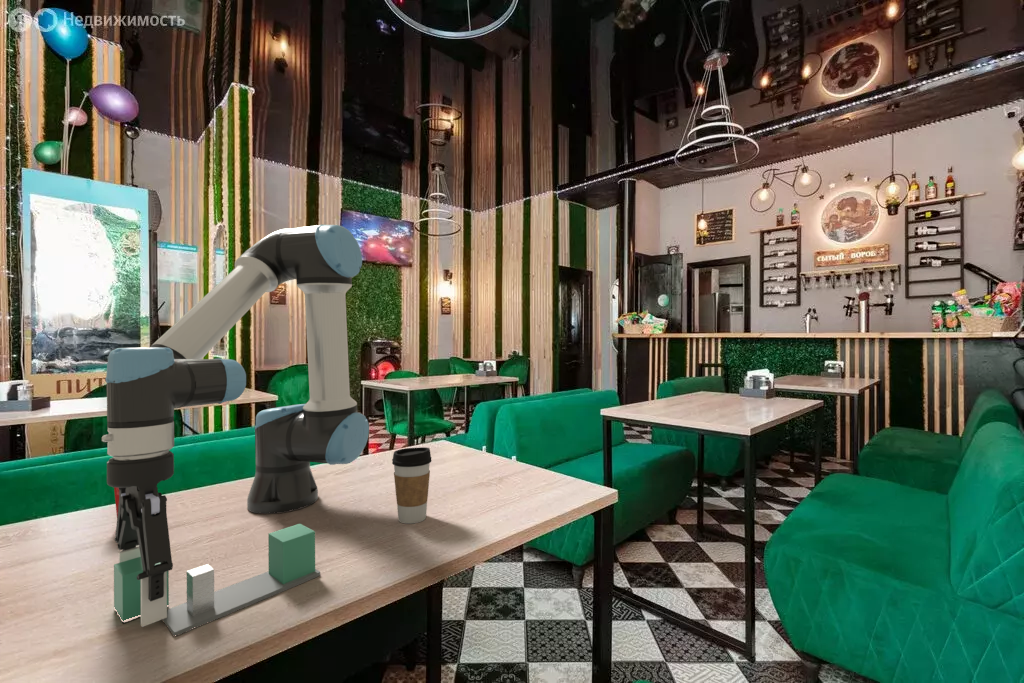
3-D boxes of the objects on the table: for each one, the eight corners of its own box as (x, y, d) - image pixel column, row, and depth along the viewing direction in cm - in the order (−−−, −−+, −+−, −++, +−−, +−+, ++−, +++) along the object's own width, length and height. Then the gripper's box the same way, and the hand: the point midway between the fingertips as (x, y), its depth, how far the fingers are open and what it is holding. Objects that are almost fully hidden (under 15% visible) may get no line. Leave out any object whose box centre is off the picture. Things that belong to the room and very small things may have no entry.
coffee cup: (422, 527, 95) (422, 455, 95) (385, 524, 96) (384, 453, 96) (437, 512, 103) (437, 446, 103) (402, 509, 104) (402, 444, 104)
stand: (159, 616, 64) (158, 565, 64) (299, 562, 80) (299, 521, 80) (174, 636, 60) (174, 582, 60) (320, 575, 75) (320, 531, 75)
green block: (114, 610, 66) (113, 564, 66) (158, 594, 70) (158, 551, 70) (122, 624, 63) (122, 576, 63) (168, 606, 67) (168, 561, 67)
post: (186, 609, 65) (186, 570, 65) (207, 601, 67) (207, 563, 67) (193, 616, 63) (192, 576, 63) (214, 607, 65) (214, 569, 65)
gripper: (90, 448, 71) (90, 590, 70) (129, 472, 56) (129, 653, 55) (150, 440, 76) (150, 571, 76) (200, 460, 62) (201, 623, 61)
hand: (141, 606), depth 66 cm, fingers open, 11 cm apart
